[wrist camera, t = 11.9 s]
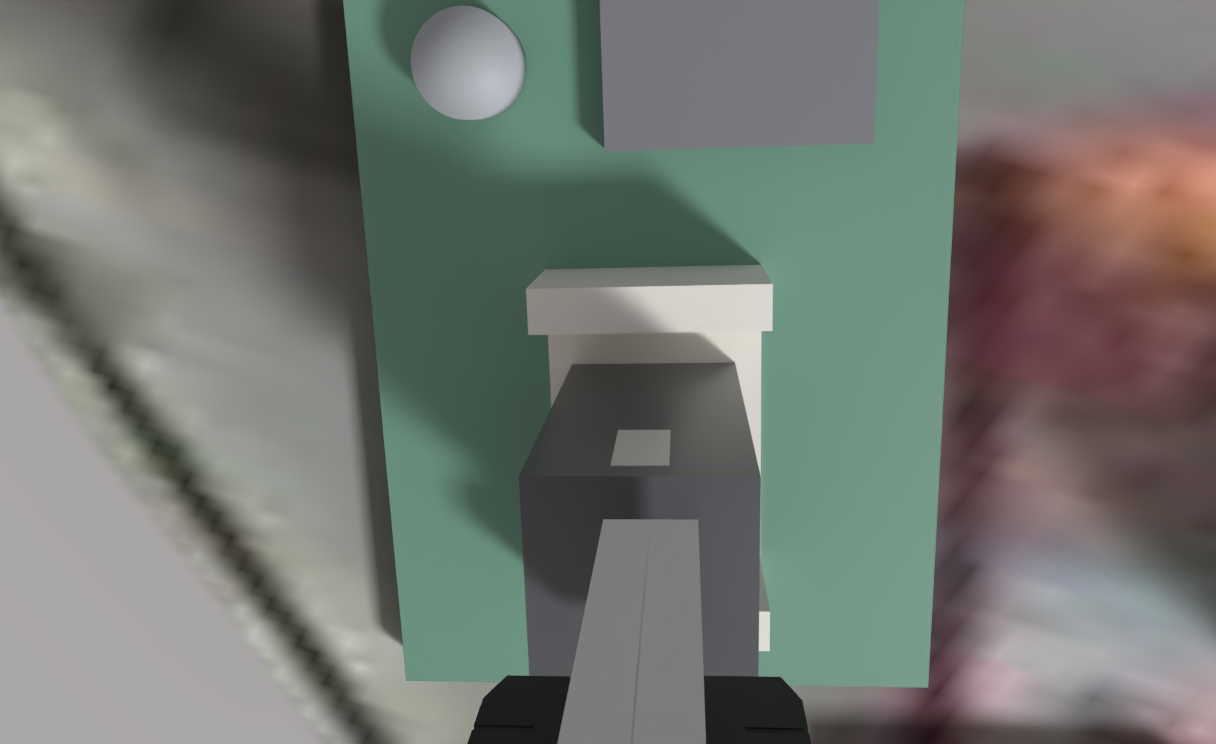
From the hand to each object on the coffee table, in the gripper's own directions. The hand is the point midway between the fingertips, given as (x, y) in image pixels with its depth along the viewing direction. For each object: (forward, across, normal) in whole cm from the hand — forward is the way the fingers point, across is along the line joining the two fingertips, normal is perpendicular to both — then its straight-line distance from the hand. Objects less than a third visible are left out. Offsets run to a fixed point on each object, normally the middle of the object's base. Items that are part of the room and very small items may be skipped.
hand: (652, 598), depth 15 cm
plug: (+9, 0, -1) cm, 9 cm away
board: (+10, 0, +3) cm, 11 cm away
